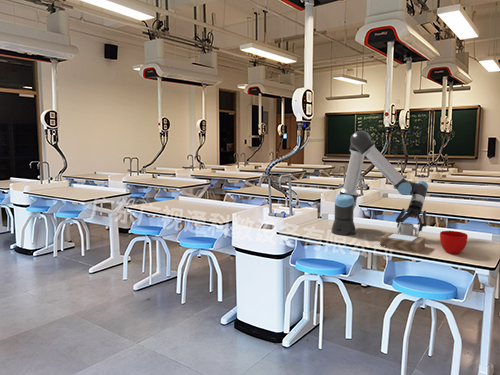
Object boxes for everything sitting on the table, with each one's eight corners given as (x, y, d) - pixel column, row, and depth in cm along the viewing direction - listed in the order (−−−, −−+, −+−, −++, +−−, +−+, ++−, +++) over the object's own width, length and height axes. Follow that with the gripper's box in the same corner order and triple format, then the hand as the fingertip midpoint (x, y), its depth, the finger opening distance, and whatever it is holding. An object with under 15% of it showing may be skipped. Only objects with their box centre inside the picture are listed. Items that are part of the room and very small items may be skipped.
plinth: (379, 246, 221) (380, 237, 221) (388, 240, 232) (388, 231, 232) (417, 252, 209) (418, 242, 209) (424, 246, 220) (425, 237, 220)
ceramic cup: (455, 246, 220) (456, 228, 218) (471, 256, 203) (472, 237, 202) (431, 246, 220) (432, 229, 219) (445, 256, 203) (446, 237, 202)
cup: (402, 236, 241) (402, 222, 240) (419, 239, 235) (420, 224, 233) (398, 239, 235) (398, 224, 234) (415, 242, 229) (416, 227, 228)
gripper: (437, 209, 238) (428, 240, 228) (398, 205, 252) (389, 234, 241) (435, 201, 233) (427, 233, 223) (396, 197, 247) (386, 227, 237)
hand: (407, 233), depth 232 cm, fingers closed on cup, 10 cm apart
